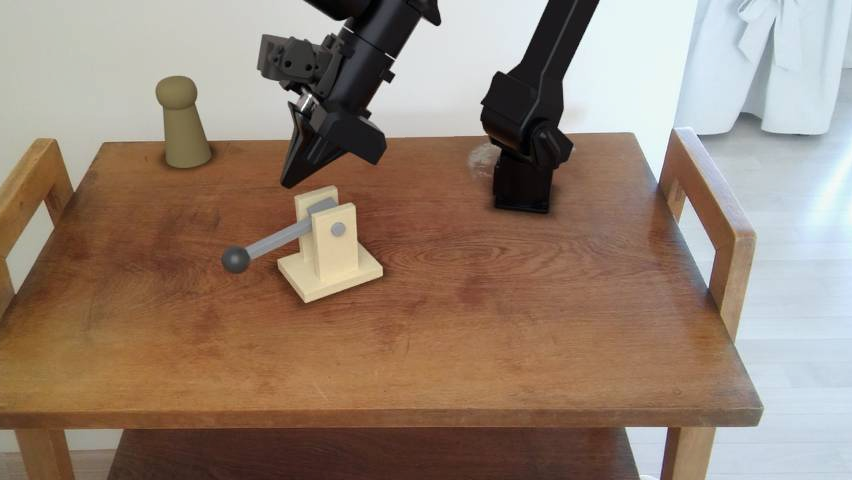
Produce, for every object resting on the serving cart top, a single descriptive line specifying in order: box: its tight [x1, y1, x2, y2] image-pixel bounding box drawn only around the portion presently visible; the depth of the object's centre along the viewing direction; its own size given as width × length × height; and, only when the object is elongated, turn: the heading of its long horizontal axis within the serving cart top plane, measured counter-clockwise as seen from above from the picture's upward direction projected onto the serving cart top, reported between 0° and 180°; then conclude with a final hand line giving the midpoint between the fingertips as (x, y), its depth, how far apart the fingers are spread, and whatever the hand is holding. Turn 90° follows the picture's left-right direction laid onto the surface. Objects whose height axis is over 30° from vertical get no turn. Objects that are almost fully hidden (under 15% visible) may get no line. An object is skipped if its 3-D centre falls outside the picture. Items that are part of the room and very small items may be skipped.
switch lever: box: [221, 197, 340, 275], centre depth 76 cm, size 13×3×3 cm, turn 119°
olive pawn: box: [154, 75, 212, 169], centre depth 100 cm, size 6×6×11 cm
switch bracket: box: [276, 184, 384, 304], centre depth 79 cm, size 9×7×9 cm
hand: (284, 186), depth 74 cm, fingers closed
